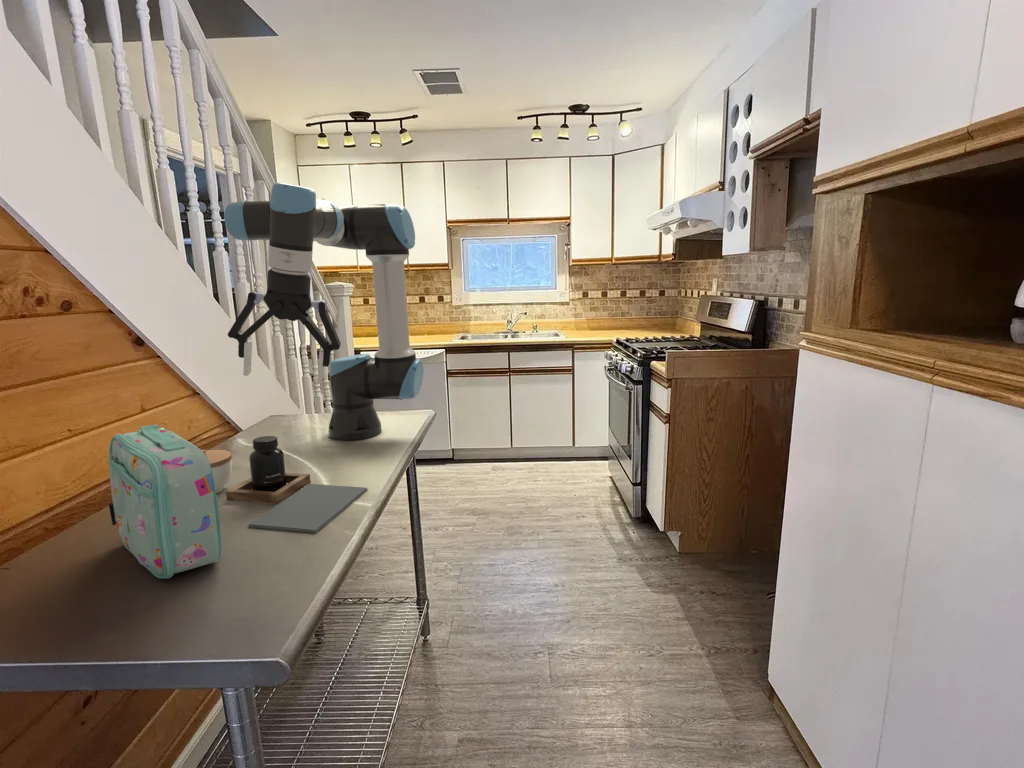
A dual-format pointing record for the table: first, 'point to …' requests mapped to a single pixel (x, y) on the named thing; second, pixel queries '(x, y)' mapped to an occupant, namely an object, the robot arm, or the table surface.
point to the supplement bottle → (267, 465)
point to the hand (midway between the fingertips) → (284, 377)
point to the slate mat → (309, 508)
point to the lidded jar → (220, 467)
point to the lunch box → (164, 501)
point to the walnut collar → (248, 495)
